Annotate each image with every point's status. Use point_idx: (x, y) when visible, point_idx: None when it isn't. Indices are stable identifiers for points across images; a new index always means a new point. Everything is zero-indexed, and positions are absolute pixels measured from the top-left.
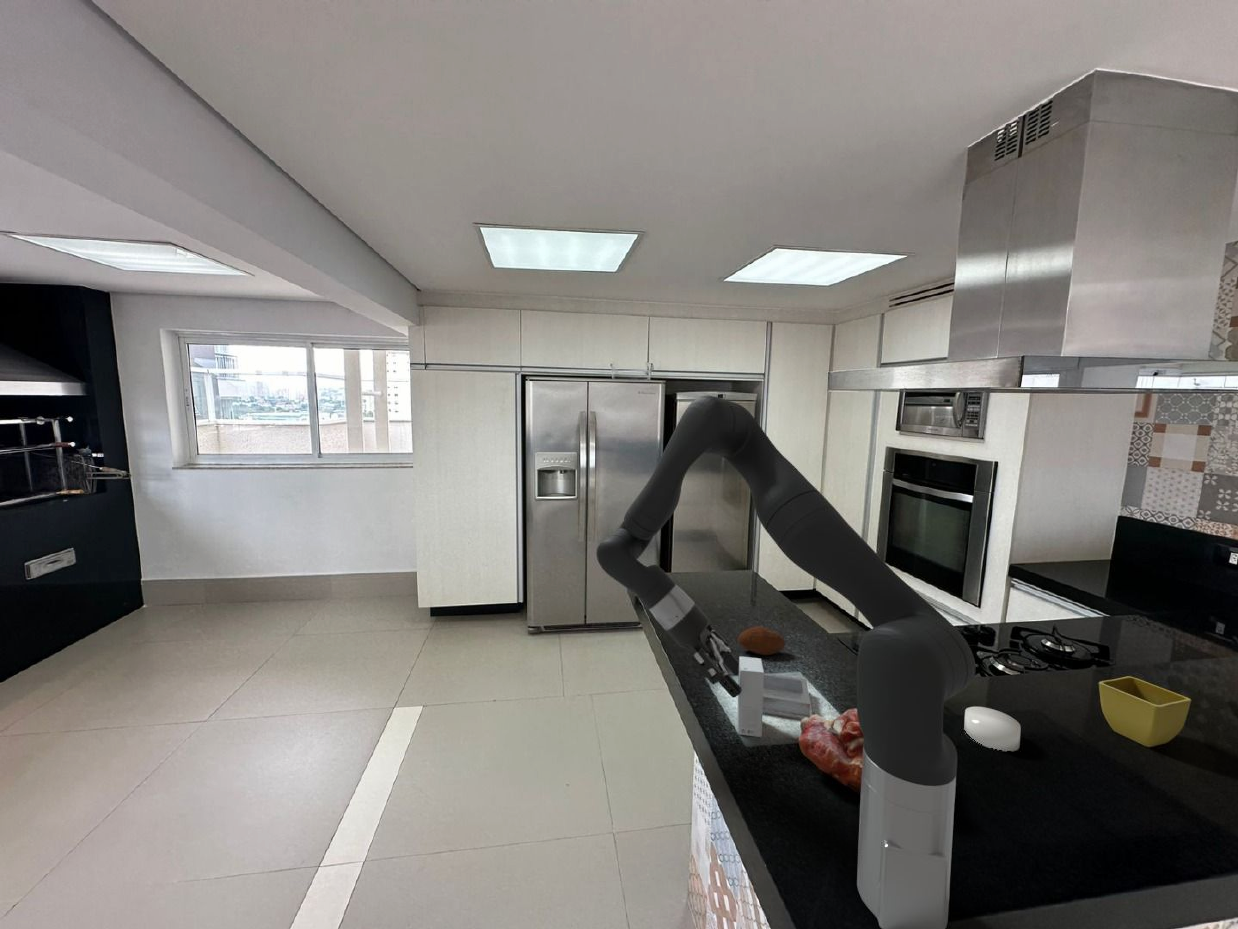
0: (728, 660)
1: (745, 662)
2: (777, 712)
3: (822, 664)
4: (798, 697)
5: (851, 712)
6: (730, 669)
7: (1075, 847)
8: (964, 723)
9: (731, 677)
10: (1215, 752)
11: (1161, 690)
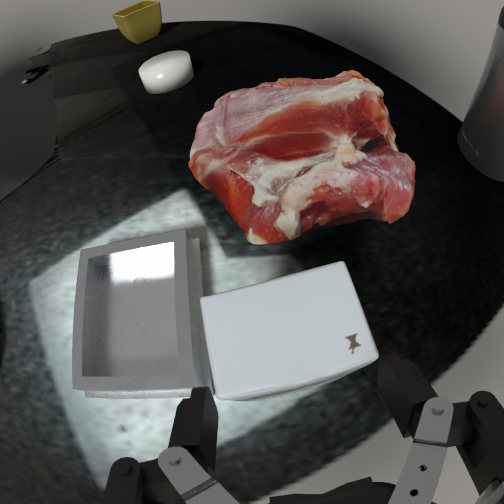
0: (207, 450)
1: (282, 358)
2: None
3: (10, 247)
4: (124, 272)
5: (224, 147)
6: (215, 436)
7: (324, 56)
8: (158, 86)
9: (406, 389)
10: None
11: (131, 7)
